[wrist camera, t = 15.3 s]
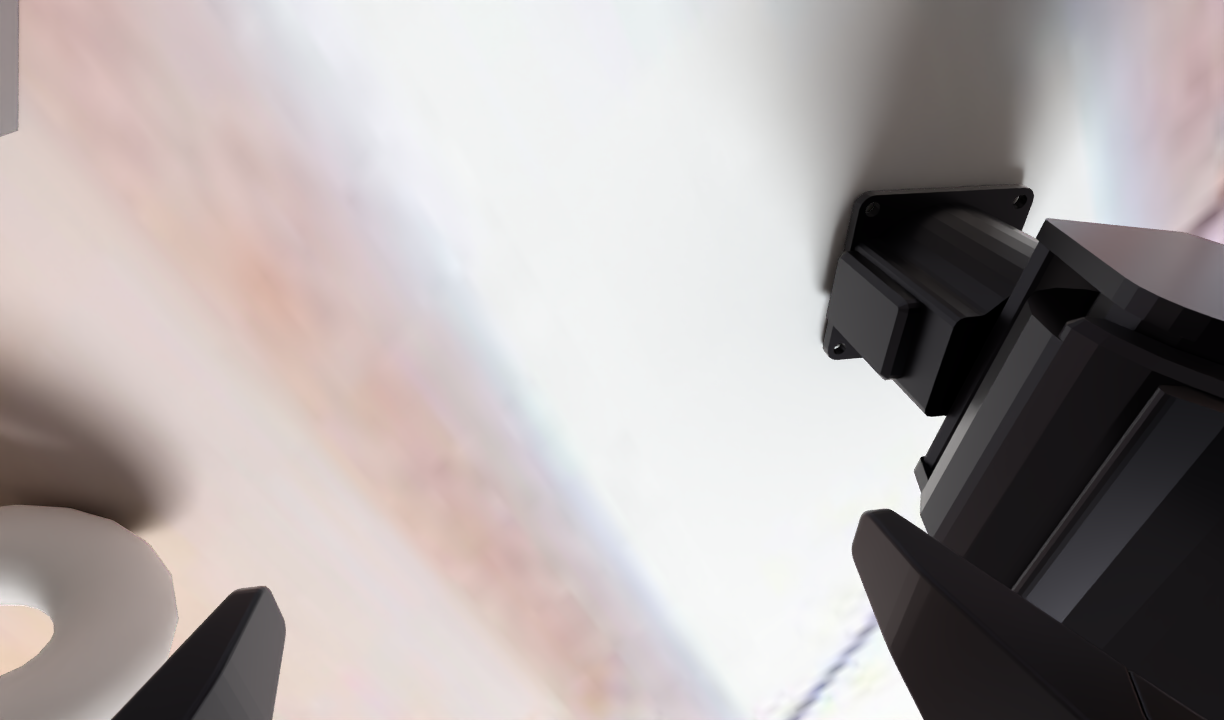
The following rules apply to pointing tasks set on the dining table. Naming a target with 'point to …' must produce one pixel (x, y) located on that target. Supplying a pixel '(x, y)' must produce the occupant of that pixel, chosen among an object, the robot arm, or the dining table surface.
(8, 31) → the socket
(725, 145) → the dining table surface
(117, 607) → the donut
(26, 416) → the dining table surface
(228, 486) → the dining table surface
